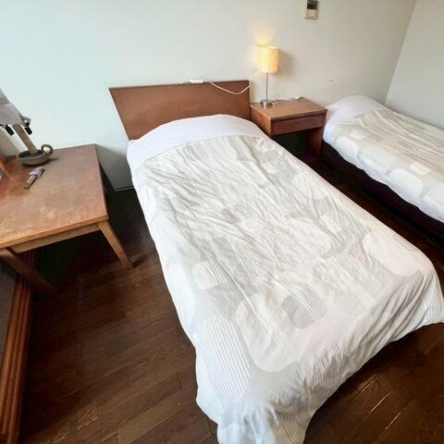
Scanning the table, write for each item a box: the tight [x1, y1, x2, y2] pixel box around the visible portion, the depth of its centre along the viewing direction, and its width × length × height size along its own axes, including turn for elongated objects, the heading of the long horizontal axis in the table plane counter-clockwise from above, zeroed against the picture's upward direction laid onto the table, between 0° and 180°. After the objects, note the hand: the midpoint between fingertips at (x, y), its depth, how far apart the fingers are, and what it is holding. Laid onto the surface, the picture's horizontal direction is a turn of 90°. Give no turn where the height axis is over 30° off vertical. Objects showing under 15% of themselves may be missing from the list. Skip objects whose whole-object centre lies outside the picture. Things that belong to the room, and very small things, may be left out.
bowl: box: [16, 143, 54, 166], centre depth 146 cm, size 14×18×10 cm
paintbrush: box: [22, 166, 45, 190], centre depth 137 cm, size 4×3×20 cm
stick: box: [11, 124, 38, 154], centre depth 140 cm, size 4×4×16 cm
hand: (21, 134), depth 138 cm, fingers open, 7 cm apart
